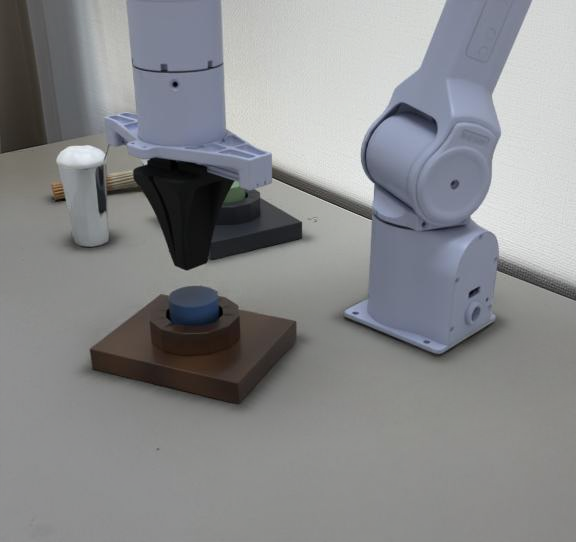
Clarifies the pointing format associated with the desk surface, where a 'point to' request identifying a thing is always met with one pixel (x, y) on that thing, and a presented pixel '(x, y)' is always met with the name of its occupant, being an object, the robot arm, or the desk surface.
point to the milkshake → (85, 192)
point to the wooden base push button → (196, 350)
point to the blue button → (194, 306)
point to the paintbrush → (113, 182)
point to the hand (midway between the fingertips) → (191, 264)
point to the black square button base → (251, 226)
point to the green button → (235, 193)
